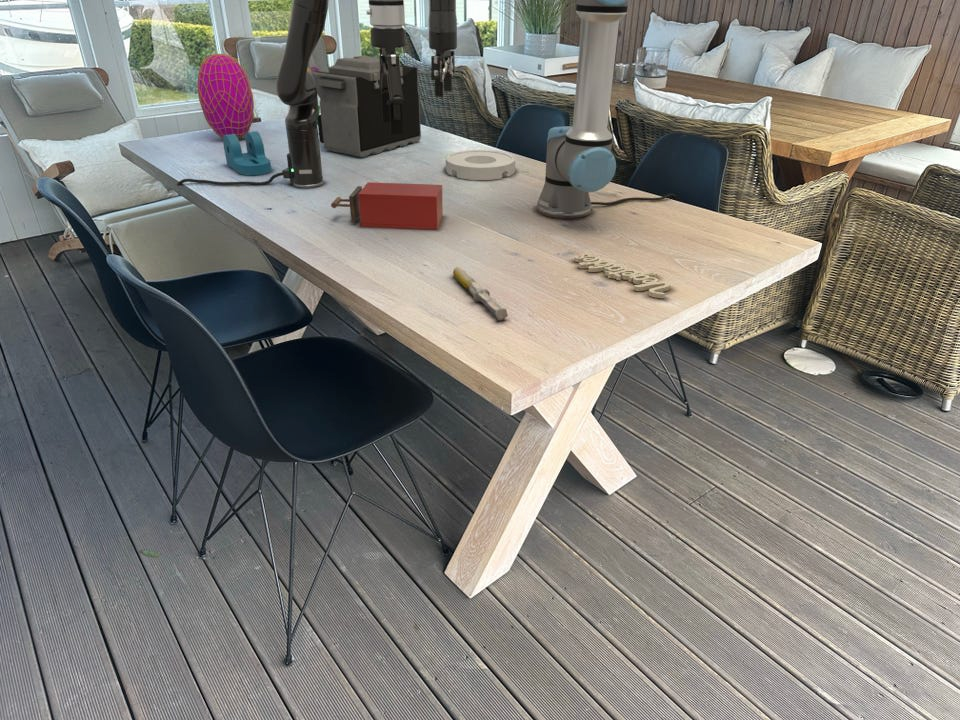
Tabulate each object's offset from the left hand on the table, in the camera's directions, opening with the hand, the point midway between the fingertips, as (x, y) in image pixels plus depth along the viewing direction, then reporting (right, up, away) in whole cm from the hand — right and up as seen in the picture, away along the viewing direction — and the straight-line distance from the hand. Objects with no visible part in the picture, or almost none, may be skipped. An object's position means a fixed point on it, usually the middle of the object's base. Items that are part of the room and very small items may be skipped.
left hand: (443, 93), depth 191 cm
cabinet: (-11, -37, -5) cm, 39 cm away
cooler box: (-31, +6, +67) cm, 74 cm away
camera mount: (-66, -10, +39) cm, 77 cm away
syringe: (+10, -61, -46) cm, 77 cm away
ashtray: (+10, -11, +39) cm, 42 cm away
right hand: (-10, -20, -31) cm, 38 cm away
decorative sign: (+43, -55, -35) cm, 78 cm away
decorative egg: (-85, +11, +75) cm, 114 cm away
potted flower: (-61, +27, +102) cm, 122 cm away
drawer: (-17, -35, -5) cm, 40 cm away
